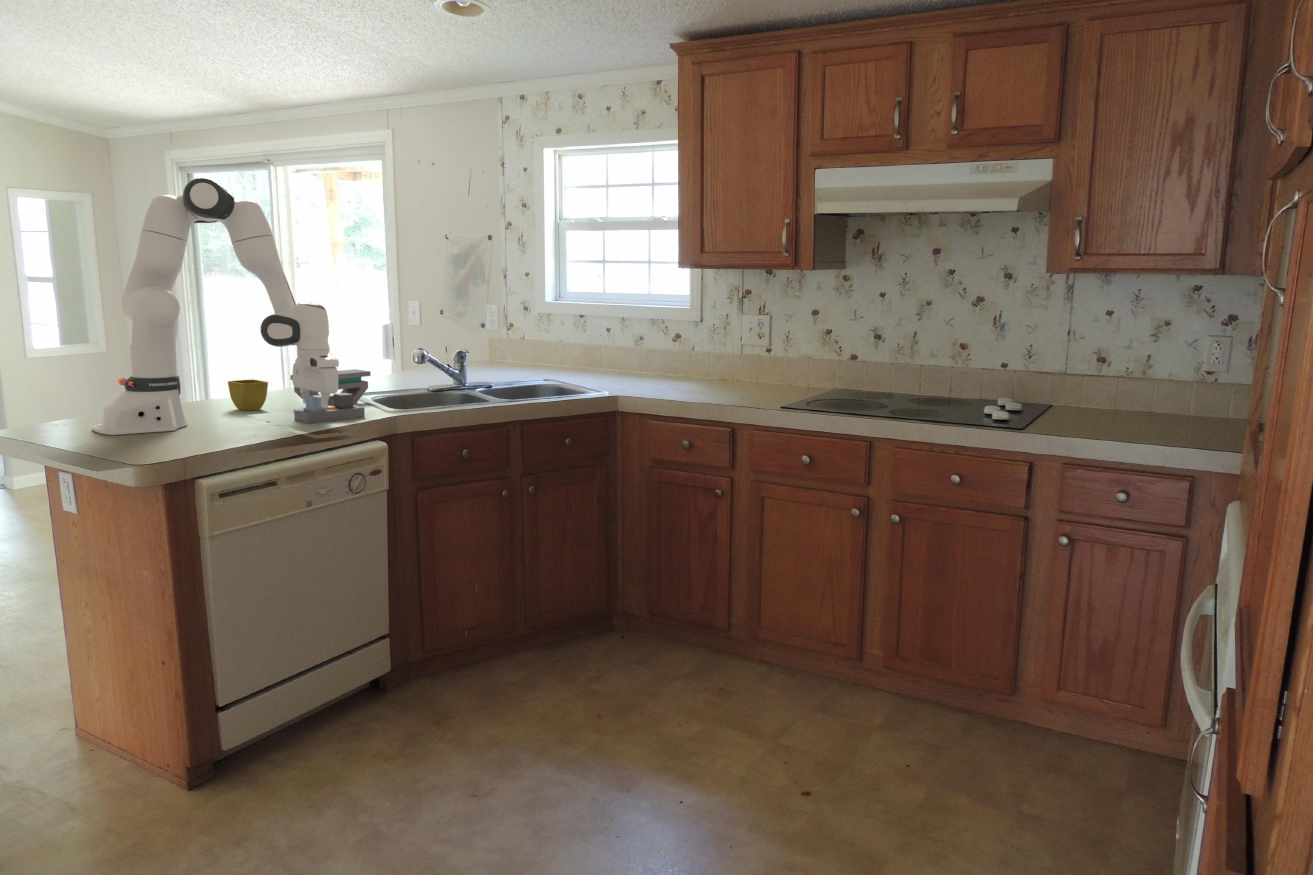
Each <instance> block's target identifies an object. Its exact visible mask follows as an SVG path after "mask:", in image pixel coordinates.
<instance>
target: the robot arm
mask: <svg viewBox="0 0 1313 875" xmlns="http://www.w3.org/2000/svg"><path fill="white" fill-rule="evenodd" d="M218 222H220V223H221V224H222V225H223V226H225V229H226V230H227V233H228V235H229V238H230V242H231V244H232V248H233V252H234V254H235V256H236V259H238V260H237V261H238V262H239V264H240V265H241V266H242V267H243V269H245V270H247V271H248V272H250V273H251V274H252V275H254V276H255V277H256V278H258V280H259V281H260V282H261V283H262V284H263V286H264V287H265V290H266V292H267V295H268V297H269V298H268V299H269V300H270V303H271V306H272V309H273V312H274V313H273V314H269V315H268V316H266V317H265V318H263V320H262V322H261V324H260V334H261V337H262V339H263V340H264V341H265V342H266V343H267V344H268V345H271V346H272V347H273V346H274V347H277V348H283V347H289V346H296V354H297V355H296V356H297V358H296V359H295V360H294V361H295V362H294V363H293V364H292V374H291V375H292V380H291V381H292V386H293V387H298V388H300V392H301V394H302V397H303V399H302V402H303V404H305V405H306V398H305V396H309V390H311V391H315V392H318V393H319V394H320V396H322V398H321V402H319V404H320V405H319V406H320V407H321V408H327V407H328V400H329V397H330V396H331V395H334V394H337V393H338V371H339V370H338V367H339V364H340V362H339V360H338V358H336V357H335V356H334V355H333V354H332V353H331V352H330V345H329V334H330V324H329V317H328V312H327V310H326V308H325V307H324V306H323V305H321V304H319V303H315V302H307V301H300V302H297V303H296V301H295V299H294V295H293V293H292V291H291V287H290V285H289V282H288V280H287V277H286V275H285V272H284V270H283V264H282V263H281V260H280V255H279V253H278V252H279V251H278V249H277V248H278V247H277V245H276V241H275V238H274V234H273V232H272V229H271V226H270V224H269V221H268V219H267V217H266V214H265V213H264V211H263V209H262V208H261V205H260V204H259V203H257V202H256V201H254V200H252V199H244V198H242V199H235V197H234V196H233V195H232V194H231V193H229V191H228V190H227V189H226V188H225V187H224V186H223V185H222V184H221V183H219V182H218V181H216V180H215V179H212V178H209V177H205V176H203V177H202V176H201V177H196V178H193V179H192V180H189V182H187V184H186V185H185V187H184V188H183V192H182V194H181V195H179V196H178V195H177V196H176V195H171V194H159V195H157V196H155V197H154V198H152V200H151V202H150V203H149V206H148V208H147V211H146V214H145V216H144V219H143V223H142V227H141V232H140V236H139V240H138V245H137V250H136V253H135V254H136V255H135V259H134V262H133V265H132V268H131V271H130V273H129V276H128V279H127V282H126V286H125V288H124V291H123V292H124V293H123V294H122V298H121V301H120V302H121V308H122V310H123V312H124V315H126V317H127V318H128V319H129V320H131V321H132V329H131V330H132V331H131V339H130V340H131V342H130V347H129V352H130V354H129V356H130V366H131V367H130V368H131V376H130V377H128V378H125V377H120V378H119V379H117V382H118V384H119V385H121V386H124V391H123V392H122V393H121V394H120V395H118V396H117V397H115V398H114V399H113V400H112V401H110V402H109V403H107V404H106V405H105V406H104V409H103V410H102V411H103V412H102V418H101V419H102V420H101V423H98V424H94V425H93V428H92V429H93V431H94V432H96V433H98V434H102V435H108V436H109V435H110V436H111V435H112V436H117V435H119V436H120V435H130V434H132V435H133V434H143V433H144V434H145V433H158V432H159V433H160V432H171V431H177V430H178V429H180V428H184V427H186V426H187V425H188V422H187V420H186V418H185V415H184V410H183V407H182V402H181V396H180V395H181V389H182V387H181V380H180V376H179V374H178V364H177V363H178V361H177V339H178V338H177V337H178V326H179V315H180V312H181V308H180V307H181V306H180V302H179V301H178V300H179V299H177V297H176V295H175V294H174V293H173V292H172V291H173V289H174V286H175V283H176V280H177V278H178V276H179V274H180V273H181V271H182V268H183V263H184V257H185V253H186V249H187V244H188V243H187V242H188V238H189V235H190V234H189V233H190V230H191V227H192V225H193V224H211V223H212V224H213V223H218Z"/></svg>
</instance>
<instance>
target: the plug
mask: <svg viewBox="0 0 1313 875" xmlns="http://www.w3.org/2000/svg"><path fill="white" fill-rule="evenodd" d="M305 398H306V404H305V409H306V411H309V412H318V411H326V408H321V407H320V406H319V405H320V404H319V402H321V398H322V396H321V394H319V395H315V396H305Z"/></svg>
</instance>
